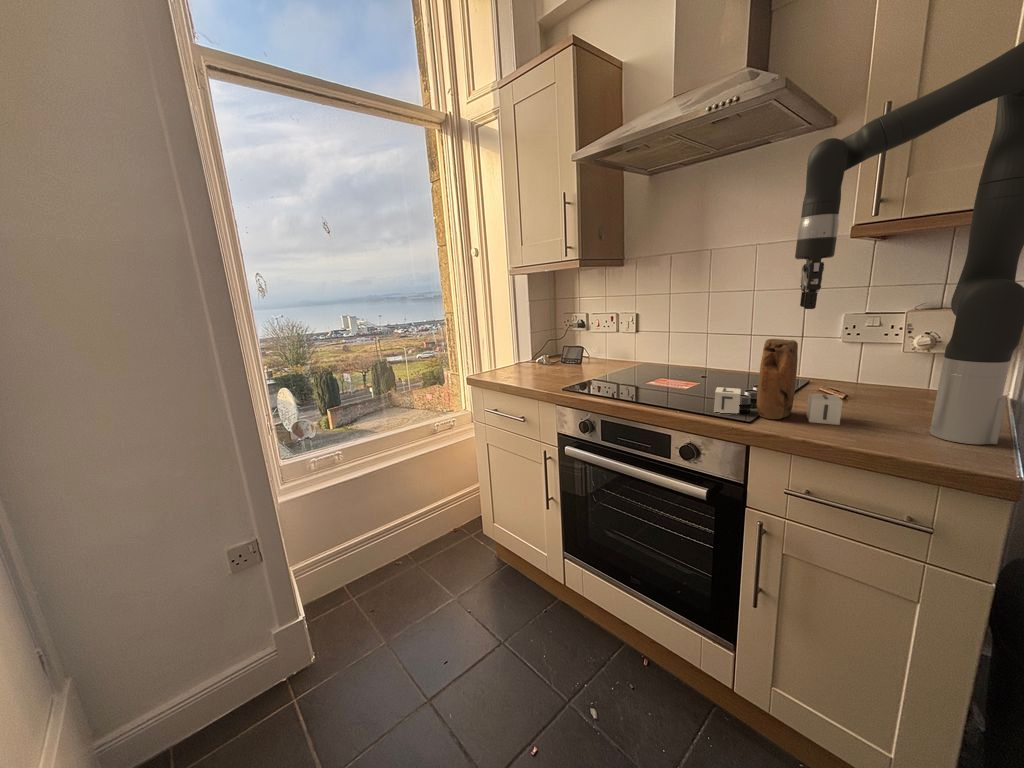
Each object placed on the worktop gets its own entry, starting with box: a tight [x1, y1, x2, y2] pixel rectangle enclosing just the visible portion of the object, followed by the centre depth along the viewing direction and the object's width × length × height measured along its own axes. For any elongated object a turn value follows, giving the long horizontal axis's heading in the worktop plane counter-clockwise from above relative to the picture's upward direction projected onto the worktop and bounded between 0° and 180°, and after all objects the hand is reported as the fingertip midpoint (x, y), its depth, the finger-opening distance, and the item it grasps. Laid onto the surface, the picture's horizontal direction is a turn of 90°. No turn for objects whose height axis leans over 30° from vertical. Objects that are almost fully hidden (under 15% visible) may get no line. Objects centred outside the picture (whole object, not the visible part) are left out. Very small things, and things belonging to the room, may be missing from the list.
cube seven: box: [713, 386, 742, 414], centre depth 114 cm, size 6×6×6 cm
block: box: [756, 338, 799, 420], centre depth 107 cm, size 11×8×20 cm
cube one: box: [806, 393, 844, 426], centre depth 103 cm, size 6×6×6 cm
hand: (807, 307), depth 100 cm, fingers open, 8 cm apart
